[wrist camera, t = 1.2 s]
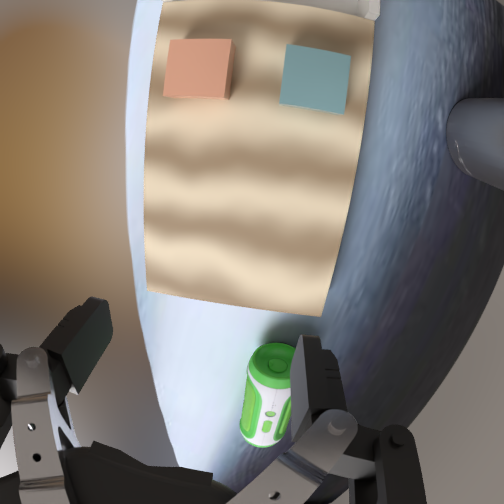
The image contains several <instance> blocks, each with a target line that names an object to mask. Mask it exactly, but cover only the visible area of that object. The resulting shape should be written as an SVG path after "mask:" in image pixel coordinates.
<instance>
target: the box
mask: <svg viewBox="0 0 504 504" xmlns="http://www.w3.org/2000/svg"><path fill="white" fill-rule="evenodd" d="M162 1H163V2H172V1H184V0H162ZM260 1H272V2H282V3H290V4H297V5H304V6H311V7H316V8H322V9H327V10H332V11H337V12H341V13H345V14H350V15H354V16H358V17H361V18H365V19H369V20H372V21H375V20H376V19H377V18H378V17H379V16H380V0H260Z"/></svg>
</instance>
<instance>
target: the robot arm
mask: <svg viewBox="0 0 504 504" xmlns="http://www.w3.org/2000/svg"><path fill="white" fill-rule="evenodd" d="M446 135H447V144H448V149H449V151H450V154H451V157H452V159H453V160H454V162H455V164H456V165H457V166H458V168H459V169H460V170H461V171H463V172H464V173H465V174H467V175H469V176H471V177H474V178H476V179H479V180H481V181H483V182H486V183H488V184H490V185H492V186H495V187H497V188H499V189H501V190H503V191H504V98H467V99H464V100H462V101H460V102H459V103H457V104H456V105H455V107H454V108H453V109H452V111H451V113H450V115H449V118H448V122H447V130H446ZM112 335H113V327H112V321H111V316H110V310H109V304H108V302H107V301H106V300H104V299H100V298H95V297H90V298H88V299H87V300H86V302H85V303H84V304H83V305H82V306H80V305H79V306H77V307H75V308H74V309H72V310H70V311H69V312H68V313H67V314H66V316H65V317H64V318H63V320H61V321H60V322H59V324H58V326H56V327H55V328H54V330H53V331H52V332H51V333H50V334H49V336H48V337H47V338H46V339H45V341H44V342H43V343H42V344H41V345H40V347H29V348H26V349H24V350H23V351H22V352H21V353H20V354H19V355H17V354H9V353H5V351H4V349H3V347H2V345H1V344H0V448H1V446H2V444H3V442H4V440H5V438H6V436H7V434H8V432H9V430H10V428H11V426H13V436H14V444H15V451H16V458H17V464H18V470H19V471H16V472H14V473H12V474H9V475H7V476H4V477H1V478H0V504H304V502H305V501H306V500H307V499H308V498H309V497H310V496H311V494H312V493H313V492H314V491H315V490H316V489H317V487H318V486H319V485H320V484H321V482H322V481H323V480H324V478H325V476H326V475H327V474H328V473H331V474H335V475H339V476H343V477H347V478H349V502H350V504H427V502H426V495H425V489H424V483H423V478H422V473H421V467H420V463H419V458H418V453H417V448H416V444H415V440H414V437H413V435H412V433H411V432H410V431H409V430H408V429H407V428H405V427H403V426H401V425H389V426H387V427H385V428H384V429H383V430H382V431H379V430H375V429H371V428H367V427H363V426H361V425H359V424H357V422H356V420H355V418H354V417H353V416H352V415H351V414H349V413H348V411H347V407H346V401H345V396H344V391H343V386H342V381H341V376H340V372H339V366H338V361H337V359H336V357H335V356H334V354H333V353H332V352H331V350H324V349H322V347H321V341H320V337H319V336H311V335H302V334H301V335H300V337H299V340H298V343H297V346H296V349H295V353H294V356H293V359H292V363H291V369H290V390H291V431H292V442H296V443H295V444H294V445H293V446H292V447H291V448H290V449H289V450H288V451H287V452H286V453H283V454H281V455H280V456H279V457H278V458H277V459H276V460H275V461H274V462H273V463H272V464H271V465H270V466H268V467H267V468H266V469H265V470H264V471H263V472H262V473H261V474H260V475H259V476H258V477H257V478H256V479H254V480H253V481H252V482H251V483H250V484H249V485H248V486H247V487H245V488H244V489H243V490H242V491H241V492H240V493H238V494H237V493H236V492H234V491H233V490H232V489H230V488H229V487H227V486H225V485H223V484H222V483H220V482H217V481H215V480H212V479H213V473H209V472H204V471H198V470H193V469H188V468H183V467H157V466H156V467H155V466H147V465H145V464H143V463H141V462H139V461H138V460H136V459H134V458H132V457H131V456H129V455H127V454H126V453H124V452H122V451H121V450H118V449H115V448H112V447H109V446H107V445H104V444H101V443H99V442H96V441H93V443H92V445H91V447H81V446H80V444H79V442H78V440H77V438H76V435H75V431H74V427H73V423H72V419H71V415H70V410H69V405H68V400H67V398H66V395H67V393H68V392H69V391H70V392H72V393H74V394H77V395H78V394H79V392H80V391H81V389H82V387H83V386H84V384H85V382H86V381H87V379H88V377H89V375H90V374H91V372H92V370H93V369H94V367H95V365H96V364H97V362H98V361H99V359H100V357H101V356H102V354H103V352H104V351H105V349H106V347H107V346H108V344H109V343H110V341H111V338H112Z"/></svg>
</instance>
